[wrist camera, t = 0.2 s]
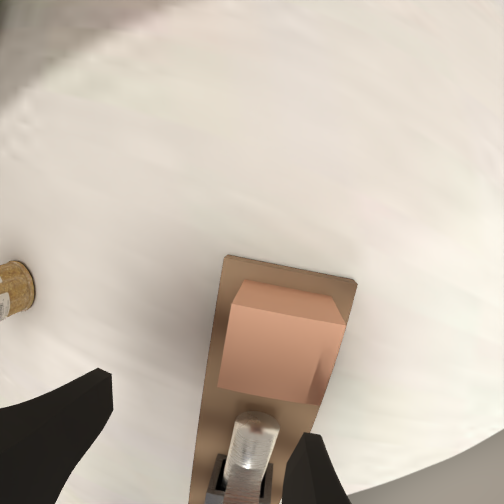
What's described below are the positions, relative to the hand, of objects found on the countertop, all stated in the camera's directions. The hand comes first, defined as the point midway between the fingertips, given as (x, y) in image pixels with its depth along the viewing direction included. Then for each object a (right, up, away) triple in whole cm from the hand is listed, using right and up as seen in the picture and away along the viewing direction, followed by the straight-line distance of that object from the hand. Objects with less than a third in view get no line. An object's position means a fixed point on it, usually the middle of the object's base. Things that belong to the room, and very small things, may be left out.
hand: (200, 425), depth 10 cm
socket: (+4, +2, +9) cm, 10 cm away
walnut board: (+2, -7, +11) cm, 14 cm away
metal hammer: (+1, -11, +10) cm, 15 cm away
